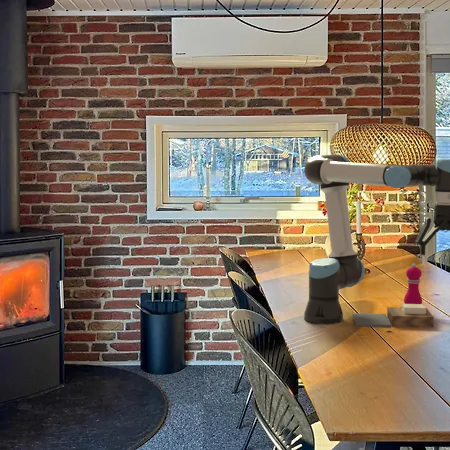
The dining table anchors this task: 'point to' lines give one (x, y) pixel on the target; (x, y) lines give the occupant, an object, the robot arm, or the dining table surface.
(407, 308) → the ceramic tile
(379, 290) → the dining table surface
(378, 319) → the charcoal mat
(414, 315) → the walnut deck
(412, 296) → the pepper mill
